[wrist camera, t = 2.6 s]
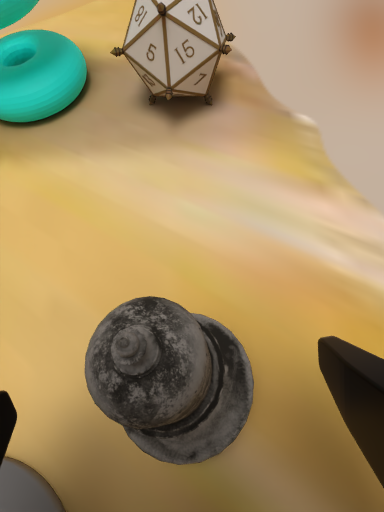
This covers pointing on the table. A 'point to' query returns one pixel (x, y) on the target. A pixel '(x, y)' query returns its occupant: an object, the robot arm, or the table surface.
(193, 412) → the dark grey tall piece
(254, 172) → the table surface
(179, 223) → the table surface
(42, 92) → the donuts
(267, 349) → the table surface
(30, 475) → the charcoal mat
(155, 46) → the game die
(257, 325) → the table surface
